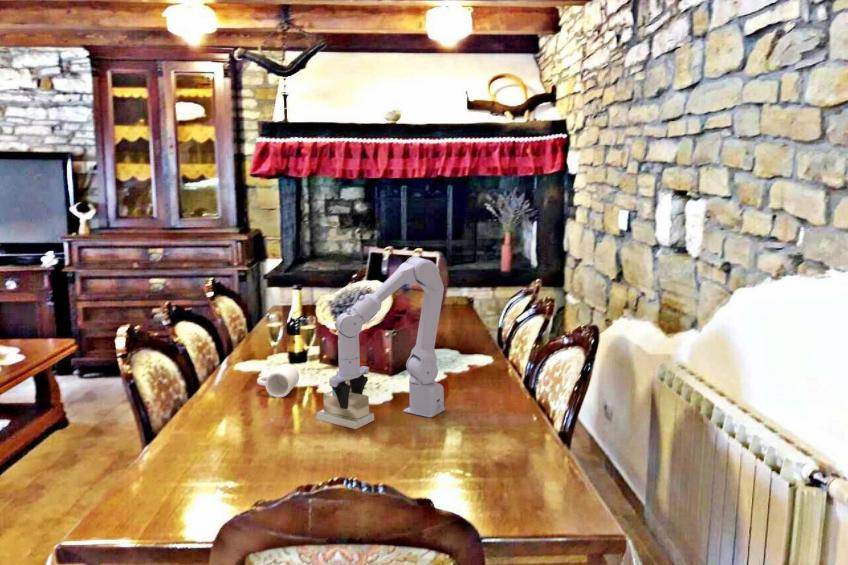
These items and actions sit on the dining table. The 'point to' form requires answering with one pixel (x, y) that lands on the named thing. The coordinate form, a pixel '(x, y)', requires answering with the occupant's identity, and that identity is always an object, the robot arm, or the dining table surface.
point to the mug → (280, 380)
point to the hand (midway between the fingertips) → (350, 405)
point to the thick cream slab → (356, 405)
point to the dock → (345, 419)
